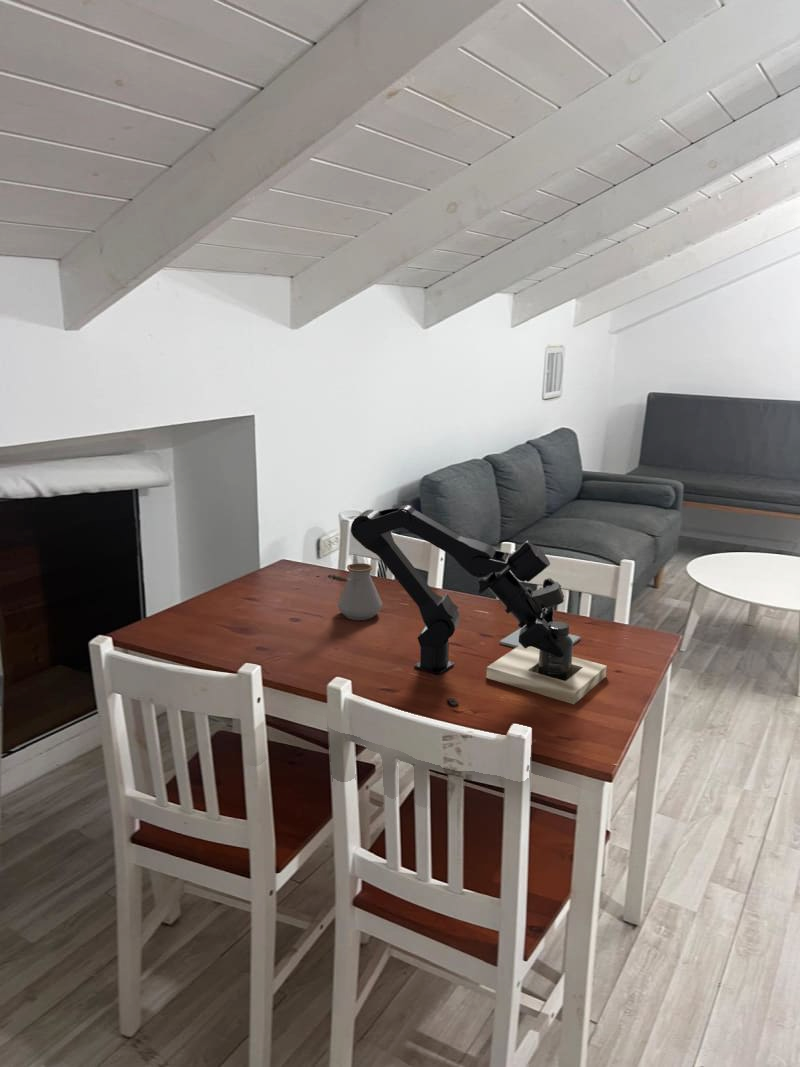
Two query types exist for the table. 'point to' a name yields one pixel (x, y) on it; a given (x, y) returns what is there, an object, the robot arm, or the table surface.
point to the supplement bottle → (552, 663)
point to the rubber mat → (514, 639)
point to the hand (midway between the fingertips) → (562, 649)
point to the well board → (524, 674)
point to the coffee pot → (358, 593)
